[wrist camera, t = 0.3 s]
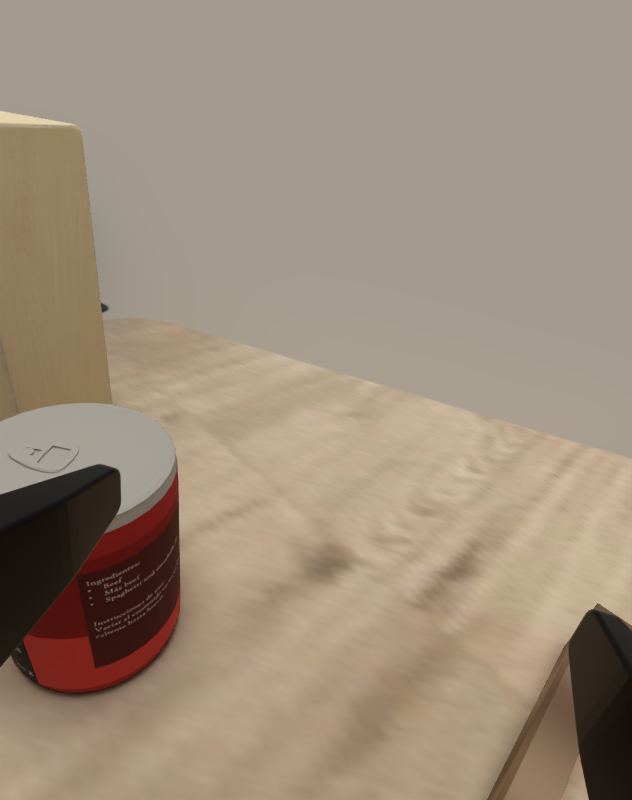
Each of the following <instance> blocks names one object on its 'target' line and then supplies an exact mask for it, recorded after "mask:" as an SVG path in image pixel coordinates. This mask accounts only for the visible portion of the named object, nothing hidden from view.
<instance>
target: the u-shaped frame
mask: <svg viewBox="0 0 632 800" xmlns="http://www.w3.org/2000/svg"><path fill="white" fill-rule="evenodd" d="M594 609H596V610H600V611H603V612H607V613H610V614H613V613H612V612H610V611H609V610H607V609H606V608H604V607H603V606H601V605H600V604H597V605H596V606H595V607H594ZM613 615H615V614H613ZM617 617H618V616H617ZM620 619H621V618H620ZM621 620H622V619H621ZM622 621H623V622H624V623H625V624H626V625H627V626H628V627H629V628H630V629H631V630H632V626H631V625H630V624H628V623H627V622H625V621H624V620H622ZM569 642H570V640H569V641H568V642H567V644H566V645H565V647H564V649H563V651H562V653H561V655H560V657H559V659H558V661H557V663H556V665H555V666H554V668H553V670H552V672H551V674H550V676H549V678H548V680H547V682H546V684H545V686H544V688H543V690H542V692H541V694H540V696H539V698H538V700H537V702H536V704H535V706H534V708H533V710H532V712H531V714H530V716H529V718H528V720H527V722H526V724H525V726H524V728H523V730H522V732H521V734H520V736H519V738H518V740H517V742H516V744H515V746H514V748H513V750H512V752H511V754H510V756H509V758H508V760H507V761H506V763H505V765H504V767H503V769H502V771H501V773H500V775H499V777H498V779H497V781H496V783H495V785H494V787H493V789H492V791H491V793H490V795H489V797H488V799H487V800H561V798H562V795H563V793H564V790H565V787H566V785H567V782H568V780H569V777H570V774H571V772H572V769H573V767H574V764H575V761H576V759H577V756H578V754H579V748H578V741H577V733H576V724H575V715H574V705H573V695H572V685H571V676H570V666H569V656H568V646H569Z"/></svg>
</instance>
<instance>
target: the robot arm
mask: <svg viewBox="0 0 632 800" xmlns="http://www.w3.org/2000/svg"><path fill="white" fill-rule="evenodd" d="M120 506H121V474H120V471H119V470H118V469H117V468H114V467H111V466H107V465H104V464H96V465H93V466H89V467H86V468H83V469H80V470H77V471H73V472H70V473H67V474H64V475H61V476H57V477H54V478H51V479H48V480H45V481H41V482H38V483H35V484H32V485H29V486H25V487H22V488H19V489H16V490H13V491H9V492H6V493H3V494H0V667H1V666H2V665H3V663H4V662H5V661H6V660H7V659H8V657H9V656H10V655H11V654H12V653H13V651H14V650H15V649H16V648H17V646H18V645H19V644H20V643H21V642H22V640H23V639H24V638H25V637H26V636H27V634H28V633H29V632H30V631H31V630H32V628H33V627H34V626H35V625H36V623H37V622H38V621H39V620H40V619H41V617H42V616H43V615H44V614H45V613H46V611H47V610H48V609H49V608H50V606H51V605H52V604H53V603H54V602H55V600H56V599H57V598H58V597H59V596H60V594H61V593H62V592H63V591H64V590H65V588H66V587H67V586H68V584H69V583H70V582H71V581H72V579H73V578H74V577H75V575H76V574H77V573H78V571H79V570H80V568H81V567H82V565H83V564H84V562H85V561H86V559H87V558H88V557H89V555H90V554H91V552H92V551H93V549H94V548H95V546H96V545H97V543H98V542H99V540H100V539H101V537H102V536H103V534H104V533H105V531H106V530H107V528H108V527H109V525H110V524H111V522H112V521H113V519H114V518H115V516H116V515H117V513H118V511H119V509H120ZM568 656H569V666H570V676H571V685H572V695H573V705H574V715H575V724H576V733H577V741H578V748H579V753H580V759H581V764H582V769H583V774H584V779H585V783H586V788H587V793H588V798H589V800H632V630H631V629H630V628H629V627H628V626H627V625H626V624H625V623H624V622H623V621H622V620H621V619H620V618H619V617H617V616H616V615H613V614H610V613H607V612H603V611H600V610H596V609H591V610H589V611H588V612H587V613H586V614H585V616H584V617H583V619H582V621H581V622H580V624H579V626H578V627H577V629H576V630H575V632H574V634H573V635H572V637H571V639H570V642H569V646H568Z"/></svg>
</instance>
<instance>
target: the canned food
mask: <svg viewBox="0 0 632 800" xmlns="http://www.w3.org/2000/svg"><path fill="white" fill-rule="evenodd" d="M96 464H104V465H107V466H111V467H114V468H117V469H118V470H119V471H120V474H121V506H120V509H119V511H118V513H117V515H116V516H115V518H114V519H113V521H112V522H111V524H110V525H109V527H108V528H107V530H106V531H105V533H104V534H103V536H102V537H101V539H100V540H99V542H98V543H97V545H96V546H95V548H94V549H93V551H92V552H91V554H90V555H89V557H88V558H87V559H86V561H85V562H84V564H83V565H82V567H81V568H80V570H79V571H78V573H77V574H76V575H75V577H74V578H73V579H72V581H71V582H70V583H69V584H68V586H67V587H66V588H65V590H64V591H63V592H62V593H61V594H60V596H59V597H58V598H57V599H56V600H55V602H54V603H53V604H52V605H51V606H50V608H49V609H48V610H47V611H46V613H45V614H44V615H43V616H42V617H41V619H40V620H39V621H38V622H37V623H36V625H35V626H34V627H33V628H32V630H31V631H30V632H29V633H28V634H27V636H26V637H25V638H24V639H23V640H22V642H21V643H20V644H19V645H18V646H17V648H16V649H15V650H14V651H13V653H12V654H11V657H12V659H13V661H14V663H15V665H16V666H17V667H18V668H19V669H20V670H21V671H22V672H23V673H24V674H25V675H26V676H28V677H29V678H31V679H33V680H34V681H36V682H38V683H40V684H41V685H43V686H45V687H47V688H50V689H54V690H57V691H61V692H72V693H82V692H91V691H97V690H101V689H104V688H107V687H111V686H114V685H116V684H118V683H120V682H122V681H124V680H126V679H128V678H130V677H132V676H133V675H135V674H136V673H138V672H139V671H140V670H142V669H143V668H145V667H146V666H147V665H148V664H149V663H150V662H151V661H152V660H153V659H154V658H155V657H156V656H157V655H158V653H159V652H160V651H161V649H162V648H163V647H164V645H165V644H166V642H167V640H168V638H169V637H170V635H171V633H172V631H173V628H174V626H175V624H176V622H177V618H178V615H179V611H180V549H179V492H178V470H177V457H176V453H175V447H174V443H173V439H172V438H171V436H170V435H169V433H168V432H167V430H166V429H165V428H164V427H163V426H162V425H161V424H160V423H158V422H157V421H156V420H154V419H153V418H151V417H149V416H147V415H146V414H143V413H141V412H138V411H135V410H133V409H130V408H125V407H121V406H117V405H110V404H101V403H71V404H60V405H54V406H48V407H42V408H38V409H35V410H31V411H27V412H24V413H21V414H18V415H15V416H13V417H10V418H8V419H5V420H3V421H1V422H0V494H3V493H6V492H9V491H13V490H16V489H19V488H22V487H25V486H29V485H32V484H35V483H38V482H41V481H45V480H48V479H51V478H54V477H57V476H61V475H64V474H67V473H70V472H73V471H77V470H80V469H83V468H86V467H89V466H93V465H96Z"/></svg>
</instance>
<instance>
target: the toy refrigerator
mask: <svg viewBox="0 0 632 800" xmlns="http://www.w3.org/2000/svg"><path fill="white" fill-rule="evenodd" d="M71 403H101V404H110V405H112V397H111V388H110V379H109V371H108V362H107V353H106V345H105V336H104V327H103V319H102V310H101V302H100V293H99V285H98V275H97V266H96V257H95V247H94V239H93V230H92V221H91V212H90V202H89V193H88V185H87V175H86V166H85V157H84V148H83V141H82V135H81V131H80V129H79V127H78V126H77V125H74V124H69V123H64V122H58V121H52V120H47V119H41V118H36V117H30V116H25V115H19V114H14V113H8V112H2V111H0V422H1V421H3V420H5V419H8V418H10V417H13V416H15V415H18V414H21V413H24V412H27V411H31V410H35V409H38V408H42V407H48V406H54V405H60V404H71Z"/></svg>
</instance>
